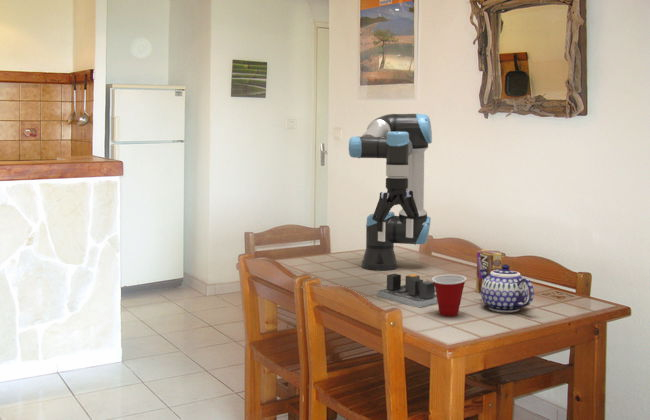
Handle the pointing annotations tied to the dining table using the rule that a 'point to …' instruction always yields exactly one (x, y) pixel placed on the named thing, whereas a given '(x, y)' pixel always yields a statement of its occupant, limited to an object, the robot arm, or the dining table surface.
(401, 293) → the breaker panel
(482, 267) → the candy box
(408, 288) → the breaker
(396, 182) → the robot arm
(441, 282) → the plastic cup
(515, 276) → the teapot
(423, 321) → the dining table surface
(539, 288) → the dining table surface
